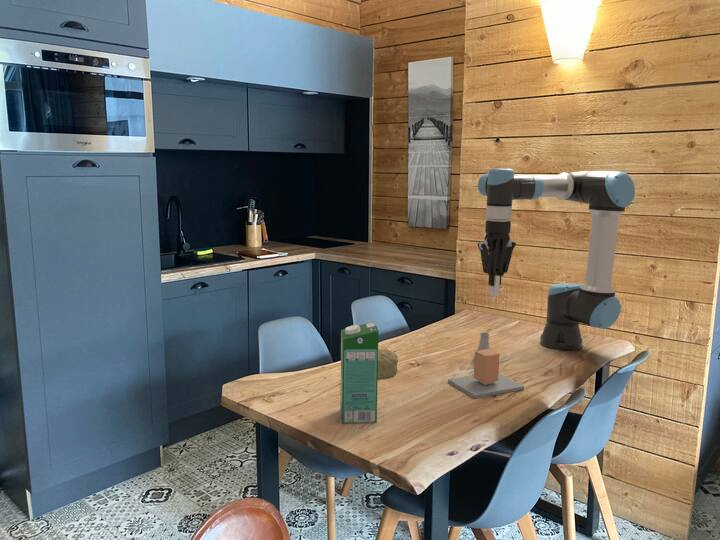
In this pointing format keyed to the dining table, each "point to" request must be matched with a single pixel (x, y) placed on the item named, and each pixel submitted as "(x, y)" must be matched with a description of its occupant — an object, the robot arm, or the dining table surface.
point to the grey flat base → (485, 386)
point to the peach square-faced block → (486, 366)
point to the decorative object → (387, 363)
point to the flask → (483, 342)
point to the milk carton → (359, 373)
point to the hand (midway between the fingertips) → (494, 295)
